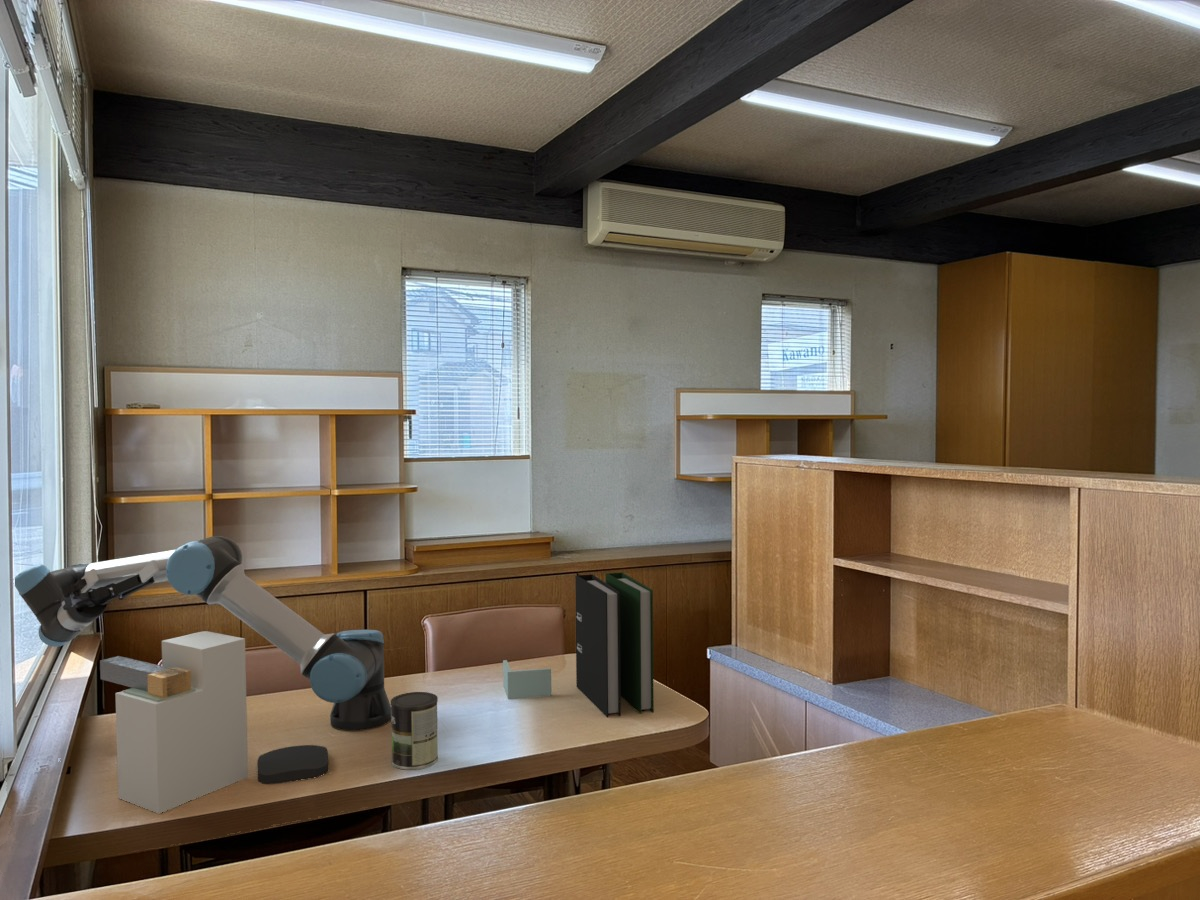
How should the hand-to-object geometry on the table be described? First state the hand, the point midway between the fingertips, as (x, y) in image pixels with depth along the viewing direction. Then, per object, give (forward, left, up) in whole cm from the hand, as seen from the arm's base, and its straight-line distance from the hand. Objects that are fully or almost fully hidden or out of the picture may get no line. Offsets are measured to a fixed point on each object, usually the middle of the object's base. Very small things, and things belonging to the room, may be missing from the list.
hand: (126, 569), depth 191 cm
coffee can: (-64, -1, -44) cm, 77 cm away
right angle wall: (-83, -51, -44) cm, 107 cm away
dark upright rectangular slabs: (-108, -44, -44) cm, 124 cm away
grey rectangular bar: (-11, +14, -22) cm, 28 cm away
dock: (-19, +13, -44) cm, 49 cm away
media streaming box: (-38, +3, -44) cm, 58 cm away
